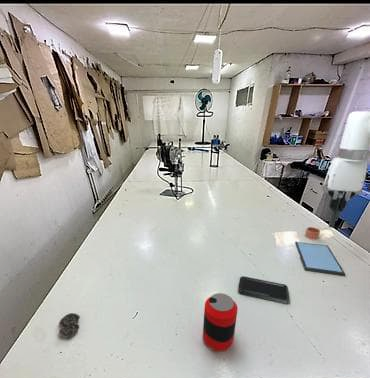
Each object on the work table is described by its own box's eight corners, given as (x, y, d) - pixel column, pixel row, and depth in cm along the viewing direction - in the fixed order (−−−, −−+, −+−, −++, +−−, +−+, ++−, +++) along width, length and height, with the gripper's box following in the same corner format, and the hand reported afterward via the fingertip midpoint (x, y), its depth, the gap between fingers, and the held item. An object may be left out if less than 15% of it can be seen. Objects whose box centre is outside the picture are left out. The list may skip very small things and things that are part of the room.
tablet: (327, 247, 100) (327, 245, 100) (344, 276, 83) (345, 273, 82) (294, 243, 103) (295, 241, 103) (304, 270, 85) (305, 268, 85)
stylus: (332, 226, 84) (342, 193, 79) (334, 228, 82) (344, 195, 78) (327, 225, 84) (336, 193, 79) (329, 227, 83) (338, 194, 78)
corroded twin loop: (58, 342, 57) (57, 339, 57) (60, 318, 64) (59, 315, 64) (80, 335, 59) (80, 332, 59) (80, 313, 66) (79, 310, 65)
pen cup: (316, 235, 110) (318, 227, 109) (319, 241, 105) (321, 233, 104) (303, 234, 111) (305, 226, 110) (306, 239, 106) (308, 231, 105)
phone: (240, 275, 80) (287, 284, 76) (240, 278, 81) (286, 287, 76) (237, 290, 73) (289, 301, 69) (237, 293, 74) (288, 304, 70)
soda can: (204, 324, 63) (206, 288, 58) (233, 328, 62) (237, 292, 57) (201, 349, 56) (203, 311, 51) (233, 354, 55) (238, 316, 50)
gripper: (374, 154, 75) (356, 208, 83) (320, 152, 78) (308, 204, 86) (387, 158, 68) (366, 216, 76) (328, 155, 71) (314, 211, 79)
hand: (335, 209), depth 81 cm, fingers closed on stylus, 1 cm apart
